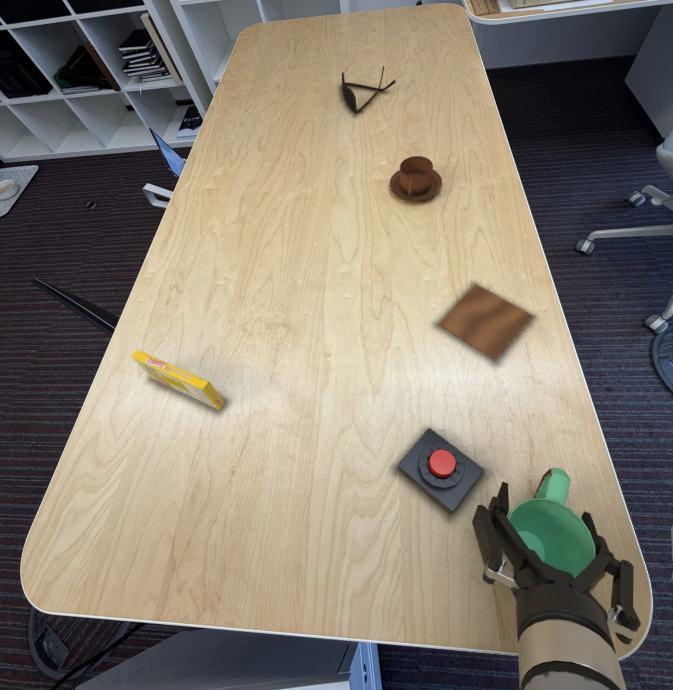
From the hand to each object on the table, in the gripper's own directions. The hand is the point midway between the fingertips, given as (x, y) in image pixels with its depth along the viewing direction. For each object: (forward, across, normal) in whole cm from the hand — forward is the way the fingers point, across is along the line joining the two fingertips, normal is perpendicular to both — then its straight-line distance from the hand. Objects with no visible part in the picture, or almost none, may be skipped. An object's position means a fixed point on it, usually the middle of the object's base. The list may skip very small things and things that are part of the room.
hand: (541, 505), depth 55 cm
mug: (+1, 0, -5) cm, 5 cm away
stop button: (+1, -14, 0) cm, 14 cm away
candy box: (+2, -60, -4) cm, 60 cm away
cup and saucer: (+47, -37, +41) cm, 73 cm away
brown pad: (+25, -14, +18) cm, 34 cm away
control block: (+4, -14, -3) cm, 15 cm away
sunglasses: (+73, -63, +66) cm, 117 cm away
